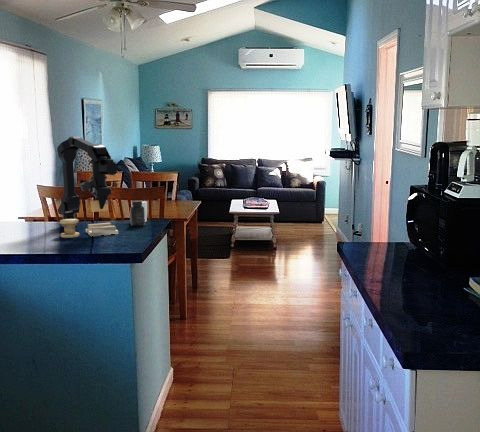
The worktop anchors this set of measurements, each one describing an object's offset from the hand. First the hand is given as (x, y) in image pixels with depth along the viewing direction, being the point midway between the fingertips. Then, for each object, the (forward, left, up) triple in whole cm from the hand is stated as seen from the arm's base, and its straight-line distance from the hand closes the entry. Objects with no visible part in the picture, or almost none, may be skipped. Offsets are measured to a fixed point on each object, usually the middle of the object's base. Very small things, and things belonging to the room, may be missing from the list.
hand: (100, 208), depth 252 cm
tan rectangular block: (0, 0, -1) cm, 1 cm away
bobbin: (0, -14, -11) cm, 18 cm away
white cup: (-21, +24, -12) cm, 34 cm away
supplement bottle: (-11, +20, -12) cm, 26 cm away
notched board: (0, 0, -11) cm, 11 cm away
